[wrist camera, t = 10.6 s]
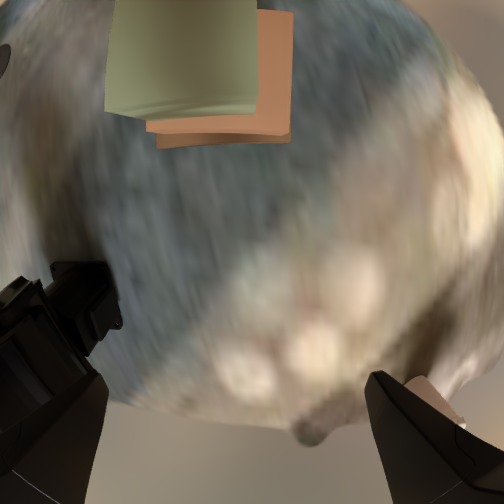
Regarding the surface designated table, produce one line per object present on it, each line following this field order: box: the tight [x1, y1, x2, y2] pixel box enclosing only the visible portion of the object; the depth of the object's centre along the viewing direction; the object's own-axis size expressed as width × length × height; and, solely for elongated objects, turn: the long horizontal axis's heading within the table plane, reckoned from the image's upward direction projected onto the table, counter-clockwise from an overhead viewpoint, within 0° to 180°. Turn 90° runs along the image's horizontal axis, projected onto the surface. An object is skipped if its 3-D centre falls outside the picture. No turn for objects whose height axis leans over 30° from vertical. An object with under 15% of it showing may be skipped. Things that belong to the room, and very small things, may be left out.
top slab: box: [146, 9, 293, 136], centre depth 12 cm, size 7×7×3 cm
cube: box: [104, 0, 259, 122], centre depth 8 cm, size 5×5×5 cm
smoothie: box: [404, 375, 467, 429], centre depth 20 cm, size 6×6×14 cm
